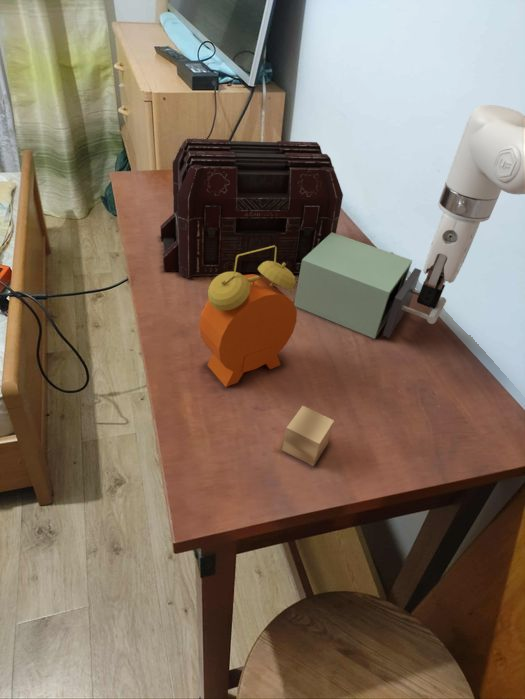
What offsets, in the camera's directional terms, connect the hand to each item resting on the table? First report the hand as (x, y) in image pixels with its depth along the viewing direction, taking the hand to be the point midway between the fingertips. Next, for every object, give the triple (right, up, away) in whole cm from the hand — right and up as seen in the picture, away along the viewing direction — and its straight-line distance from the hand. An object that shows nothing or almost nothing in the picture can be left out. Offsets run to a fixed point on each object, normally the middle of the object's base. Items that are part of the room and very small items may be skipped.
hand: (426, 303), depth 85 cm
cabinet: (-12, 0, +8) cm, 15 cm away
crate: (-30, +12, +19) cm, 38 cm away
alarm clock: (-30, -10, -7) cm, 33 cm away
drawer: (-7, -1, +6) cm, 9 cm away
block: (-22, -21, -18) cm, 35 cm away
